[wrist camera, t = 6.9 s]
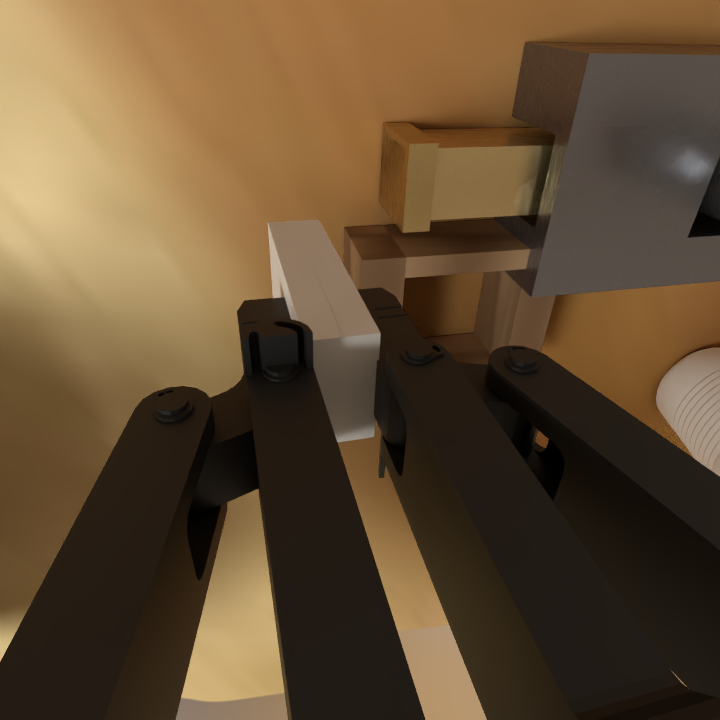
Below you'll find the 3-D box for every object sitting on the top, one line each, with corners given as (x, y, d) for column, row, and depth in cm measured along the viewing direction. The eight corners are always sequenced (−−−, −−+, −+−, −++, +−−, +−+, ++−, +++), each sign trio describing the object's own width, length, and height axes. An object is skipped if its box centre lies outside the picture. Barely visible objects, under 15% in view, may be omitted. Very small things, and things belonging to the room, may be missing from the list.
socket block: (487, 254, 29) (531, 297, 25) (525, 41, 23) (589, 53, 19) (704, 239, 32) (775, 276, 28) (785, 46, 26) (888, 56, 22)
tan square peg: (379, 202, 26) (402, 232, 23) (383, 122, 24) (409, 144, 21) (580, 193, 28) (628, 219, 25) (600, 119, 26) (654, 138, 23)
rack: (342, 360, 31) (357, 403, 28) (344, 227, 26) (362, 260, 23) (501, 343, 33) (532, 382, 30) (528, 217, 28) (568, 246, 25)
